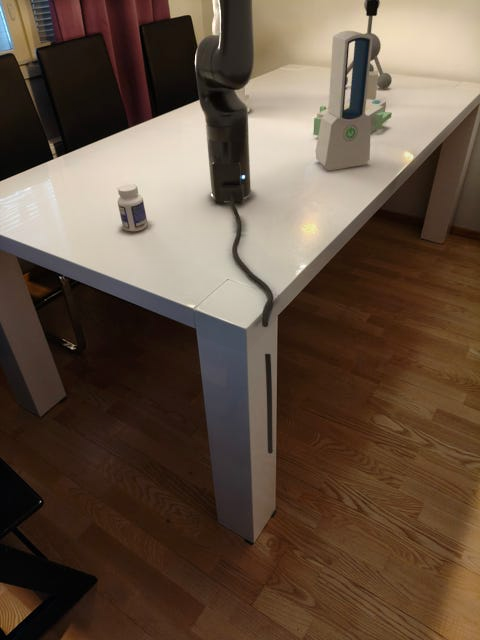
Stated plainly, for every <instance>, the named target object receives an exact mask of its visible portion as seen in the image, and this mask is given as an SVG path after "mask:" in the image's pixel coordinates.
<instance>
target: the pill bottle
mask: <svg viewBox="0 0 480 640" xmlns="http://www.w3.org/2000/svg"><path fill="white" fill-rule="evenodd" d="M117 193H118V196H119V197H118V199H117V206H118V210H119V211H118V212H119V215H120V219H121V224H122V227H123V229H124V230H125V231H128V232H138V231H141V230H144V229H146V227H147V226H148V217H147V214H146V208H145V203H144V198H143V196H142V195H141V194H139V188H138V185H137V184H135V183H132V182H131V183H123V184H121V185H119V186H118V187H117Z"/></svg>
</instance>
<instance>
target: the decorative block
mask: <svg viewBox="0 0 480 640" xmlns="http://www.w3.org/2000/svg"><path fill="white" fill-rule="evenodd" d="M349 105H350V98H349V99H347V100H345V103H344V110H345V109H347V108H349ZM386 107H387V101H386V100H379V99H376V100H370V99H366V109H365V114H366V115H367V116H368V117H369V118H370V119H371V129H370V134H371V133H373V132H375V130H377V131H378V130H381V129H382V124H383V123H385V122H387V121H388V120H389V119H391V118H392V115H393V114H392V113H393V112H392V111H386ZM328 110H329V106H328V107H327V106H326V105H321V106H320V107H319V112H318V113H316V117H314V118H313V119H314V120H313V135H314V136H318V135H319V129H320V124H321V119H322V117H323V116H324V115H325V114H326V113H327V112H328Z"/></svg>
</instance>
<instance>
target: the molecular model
mask: <svg viewBox="0 0 480 640" xmlns="http://www.w3.org/2000/svg"><path fill="white" fill-rule="evenodd" d="M380 4H381V1H380V0H379V2H378V8H380ZM363 6H364V10H365V11H366V6H367V0H364V3H363ZM373 17H374V16H368V20H367V29H366V30H367V31H366V33H364V34H366V35H369V36H371V37H373V42H372V51H371V61H370V70H369V72H370V71H375V68H374V65H373V64H372V63H371V62H372V61H374V63H375V66H376V69H377V71H378V82H377V88H380V89H381V90H385V89H387V88H389V87H390V86H391V84H392V82H393V78H392V76H391V74H390V73H388V72H384V71H383V68H382V66H381V63H380V60H379V57H378V55H380V51H381V45H382V44H381V40H380V38H379V37H378V35H377V34H375V33H372V28H373ZM351 70H353V60H352V61H351V62H350V64H349V66H347V75H348V74H349V73H350V72H351ZM348 82H349V77H348V76H347V77H346V86H347V85H348Z"/></svg>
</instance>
